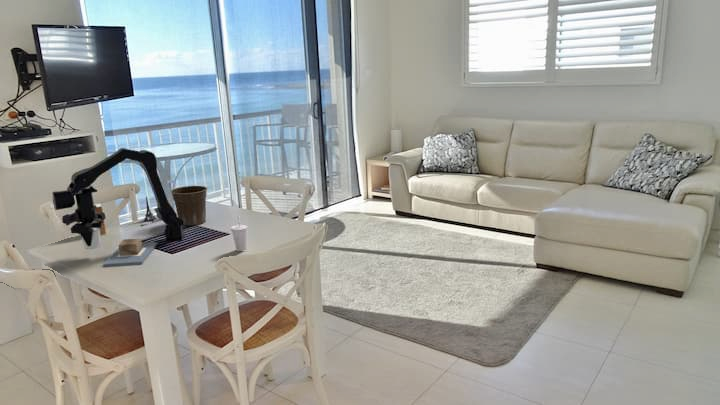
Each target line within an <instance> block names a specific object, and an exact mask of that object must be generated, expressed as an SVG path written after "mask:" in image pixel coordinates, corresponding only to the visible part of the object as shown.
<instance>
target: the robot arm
mask: <svg viewBox="0 0 720 405" xmlns="http://www.w3.org/2000/svg"><path fill="white" fill-rule="evenodd" d="M125 160H130V161H134V162H138V163H139V166H140V167H141V168H142V170H143V171H144V173H145V174H146V176H147V179H148V182H149V184H150V187H151V191H152V193H153V196H154V198H155V201H156V205H157V206H156V207H157V208H154V212H155V213H156V218H157V219H158V218H159V219H160V220H161V221H162V222H163V223H164V224H165V229H164V235H165V242H171V241H172V242H174V241H175V242H176V241H182V240H183V239H184V237H185V234H184V229H183V226H184V225H183V221H182V220H181V219H179V218H178V215H177V212H176V211H175V209H174V208H173V206H172V205H171V203H169V201H168V198H167V195H166V192H165V189H164V187H163V184H162V180H161V178H160V176H159V173H158V163H157V157H156V155H155V153H154V152H152V151H149V150H147V149H141V150H134V149H128V148H125V147H121V148H119V149H118V150H117V151H115V152H113V153H112V154H110V155H109V156H107V157H105V158H104V159H102V160H100V161H99V162H97V163H95V164H94V165H93V166H90V167H87V168H83V169H81V170H78V171H75V172H74V173H73V174H72V175H71V178H70V181H71V182H70V183H69V185H68V187H66V190H60V191H59V190H58V191H55V190H54V191H52V193H51V194H52V204H53V208H54V210H55V211H59V210H64V209H71V208H73V207H74V206H75V205H76V207H77V208H76V209H75V210H74V212H72V213H70V214H69V213H66V214H64V215H62V216H61V217H62V218H61V221H62V223H63V224H64V225H65V226H70V225H71V224H73V223H75V224H73V225H72V226H71V227H70V233H71V234H78V235H80V236H81V238H82V237H83V239H84V241H85V242H86V244H87V246H91V243H92V237H93V231H94V229H92V228H100V229H101V226H102V223H103V221H99V219H100V218H101V220H104V221H105V220H106V213H104V212H95V208H96V205H94V196H93V193H98V190H97V189H96V188H95V187H93V183H95V182H96V180H97V179H98V178H99V177H100V176H102V175H103V174H104V173H106V172H108V171H109V170H110V169H112V168H114V167H115V166H117V165H118V164H121V163H122V162H124V161H125Z"/></svg>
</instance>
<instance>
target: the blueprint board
mask: <svg viewBox="0 0 720 405" xmlns="http://www.w3.org/2000/svg"><path fill="white" fill-rule="evenodd" d="M156 245H158V241H154V242H152V241H150V242H142V248H143V249H142V250H141V251H140V252H139V254H138V255H125V256H120V252H119V247H118V248H117V249H116V250H115V251H114V252H113V253H112V255H111V256H109V257H108V259H107V260H106V261H105V262H104V263H103V264H102V265H103V267H115V266H116V267H119V266H131V265H133V266H134V265H143V264H144V263H145V262H146V260H147V259H148V258H149V256H150V255H151V254H152V252H153V251H154V249H156V247H157V246H156Z"/></svg>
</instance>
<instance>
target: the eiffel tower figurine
mask: <svg viewBox="0 0 720 405" xmlns="http://www.w3.org/2000/svg"><path fill="white" fill-rule="evenodd" d="M145 199H146V200H145V202H146V214H145V216H144V219H143V221H142V224H140V225H139V226H141V227H143V226H147V225H151V224H153V223H158V222H161V221H162V220H160V219H159V218H158V217H156V216H155V215H154V214H153V213H152V211H151V209H150V205H149V201H148V197H147V196H145ZM156 218H157V219H156ZM148 219H149V220H148ZM151 222H152V223H151ZM143 223H144V224H143ZM145 223H146V224H145Z"/></svg>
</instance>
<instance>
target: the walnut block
mask: <svg viewBox="0 0 720 405" xmlns="http://www.w3.org/2000/svg"><path fill="white" fill-rule="evenodd" d="M142 243H143V242H142V238H128V239H127V238H125V239H123V240H122V241H121V242H120V243H119V244H118V248H119V252H120V256H125V255H138V254H139V252H140V251H141V250H142V249H143V248H142Z"/></svg>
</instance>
